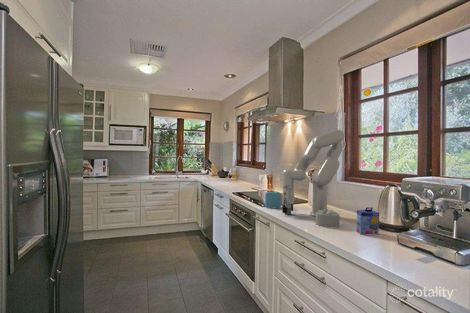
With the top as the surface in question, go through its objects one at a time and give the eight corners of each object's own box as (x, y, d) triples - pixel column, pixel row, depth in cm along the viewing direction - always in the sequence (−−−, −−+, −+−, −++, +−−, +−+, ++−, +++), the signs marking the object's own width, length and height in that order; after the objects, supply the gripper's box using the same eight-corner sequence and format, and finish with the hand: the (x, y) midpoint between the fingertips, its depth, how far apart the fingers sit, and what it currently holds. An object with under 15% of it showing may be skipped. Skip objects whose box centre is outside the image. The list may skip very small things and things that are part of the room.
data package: (279, 206, 191) (279, 191, 191) (281, 207, 187) (281, 192, 187) (264, 206, 191) (265, 191, 190) (265, 207, 186) (266, 192, 186)
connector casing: (292, 214, 168) (292, 204, 168) (289, 215, 164) (289, 205, 164) (286, 213, 170) (286, 203, 170) (283, 214, 167) (283, 204, 167)
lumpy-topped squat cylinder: (341, 227, 139) (341, 212, 139) (319, 227, 138) (319, 212, 138) (333, 222, 149) (333, 208, 149) (312, 222, 149) (313, 208, 149)
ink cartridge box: (360, 235, 126) (361, 207, 126) (355, 231, 132) (356, 205, 132) (379, 235, 126) (380, 208, 126) (373, 231, 132) (373, 205, 132)
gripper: (287, 189, 158) (287, 215, 158) (298, 186, 171) (298, 210, 172) (277, 188, 163) (277, 213, 163) (288, 185, 176) (288, 208, 176)
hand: (287, 211), depth 167 cm, fingers open, 9 cm apart
